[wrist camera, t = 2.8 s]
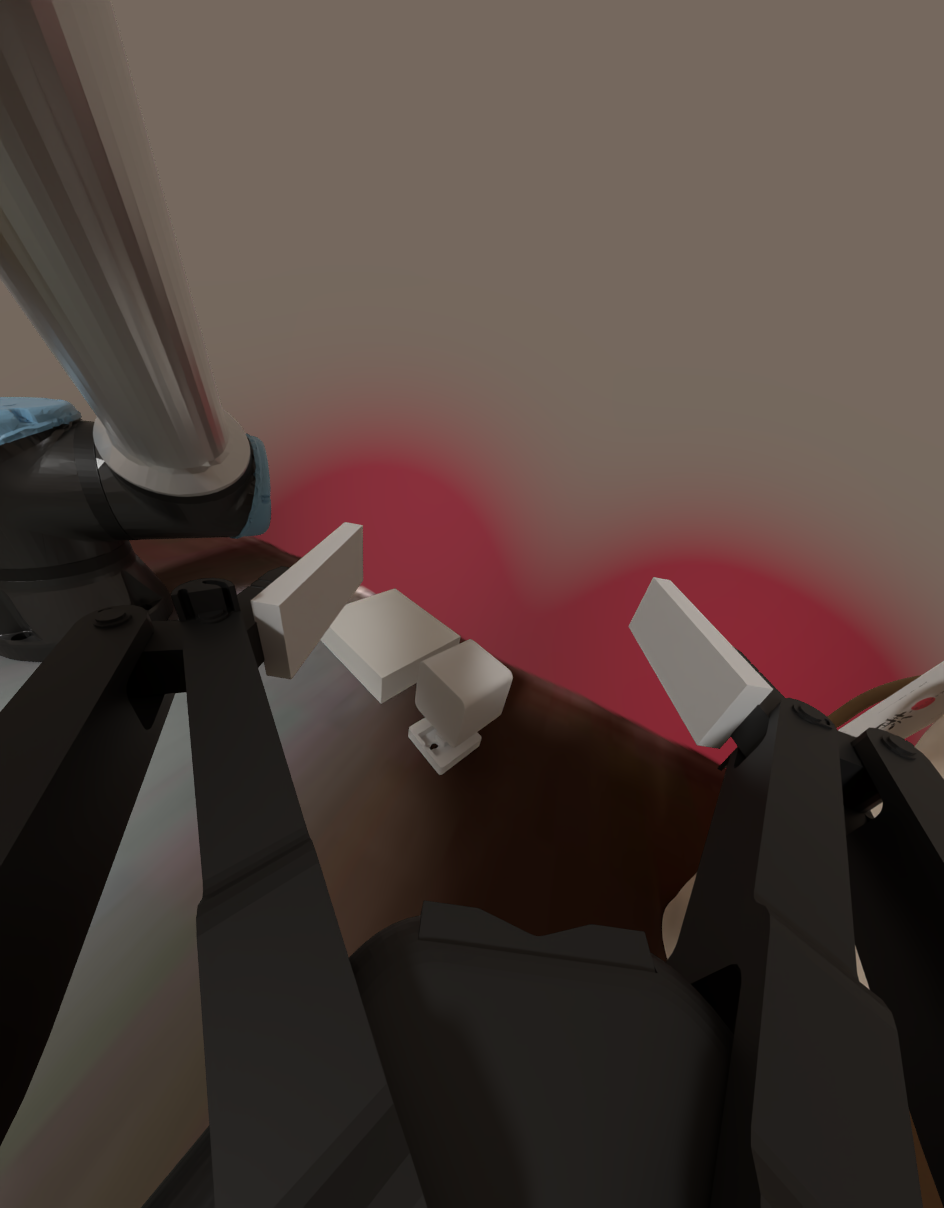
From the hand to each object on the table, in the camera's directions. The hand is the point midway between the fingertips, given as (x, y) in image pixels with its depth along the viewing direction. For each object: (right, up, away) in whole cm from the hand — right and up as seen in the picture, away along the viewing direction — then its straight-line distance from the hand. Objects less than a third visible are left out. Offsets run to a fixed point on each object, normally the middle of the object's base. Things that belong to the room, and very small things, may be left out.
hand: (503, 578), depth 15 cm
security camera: (-4, -15, +20) cm, 26 cm away
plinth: (-13, -7, +30) cm, 33 cm away
